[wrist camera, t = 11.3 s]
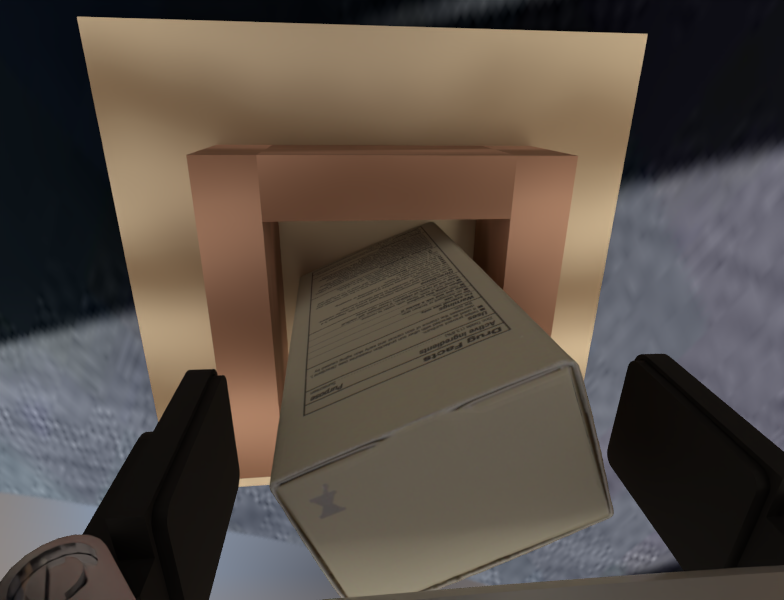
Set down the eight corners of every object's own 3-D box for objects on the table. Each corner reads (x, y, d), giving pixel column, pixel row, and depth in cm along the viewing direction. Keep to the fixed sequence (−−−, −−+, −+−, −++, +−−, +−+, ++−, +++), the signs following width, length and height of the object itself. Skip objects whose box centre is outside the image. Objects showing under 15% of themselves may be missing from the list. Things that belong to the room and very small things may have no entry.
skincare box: (339, 358, 22) (343, 634, 10) (296, 273, 20) (245, 492, 9) (473, 304, 21) (626, 527, 10) (441, 214, 20) (583, 360, 8)
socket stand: (91, 21, 17) (-2, -10, 12) (632, 37, 19) (728, 15, 14) (178, 476, 24) (141, 563, 20) (560, 452, 26) (607, 525, 22)
